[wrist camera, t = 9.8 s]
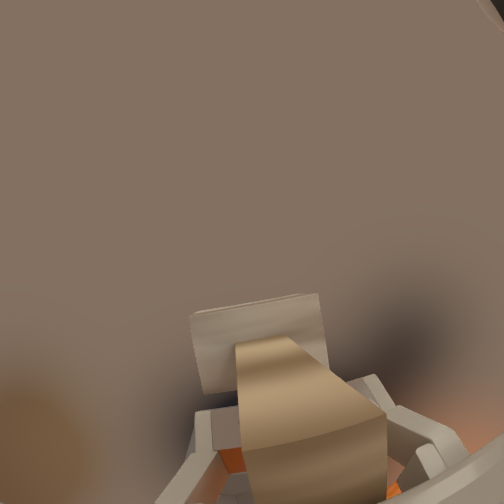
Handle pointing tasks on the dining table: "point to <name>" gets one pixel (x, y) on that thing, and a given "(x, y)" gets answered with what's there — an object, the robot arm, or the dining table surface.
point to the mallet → (292, 404)
